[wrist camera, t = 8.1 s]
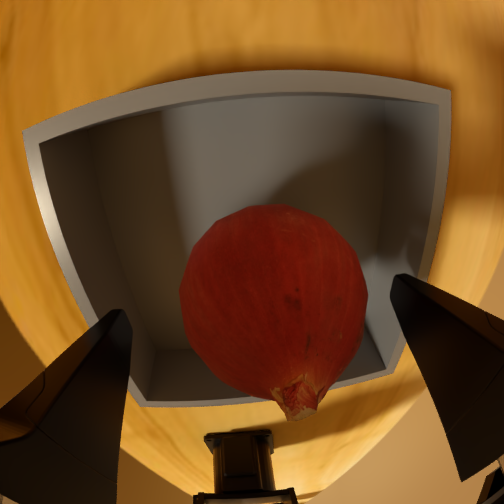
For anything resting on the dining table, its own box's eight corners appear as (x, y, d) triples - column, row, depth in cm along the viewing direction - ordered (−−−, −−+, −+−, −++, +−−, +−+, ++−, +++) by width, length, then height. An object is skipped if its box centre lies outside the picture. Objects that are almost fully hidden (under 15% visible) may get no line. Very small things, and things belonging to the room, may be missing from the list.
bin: (364, 318, 16) (393, 373, 13) (152, 345, 16) (140, 406, 12) (384, 88, 10) (450, 90, 6) (84, 118, 10) (22, 131, 6)
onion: (343, 208, 12) (470, 331, 5) (288, 311, 14) (340, 457, 7) (214, 159, 10) (218, 272, 3) (173, 283, 12) (153, 455, 5)
